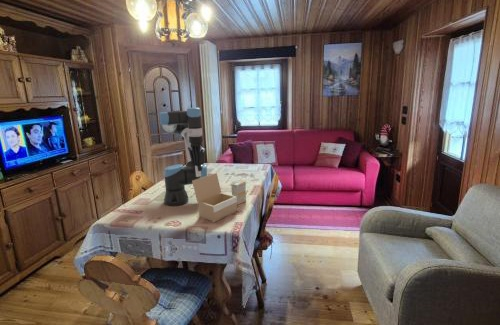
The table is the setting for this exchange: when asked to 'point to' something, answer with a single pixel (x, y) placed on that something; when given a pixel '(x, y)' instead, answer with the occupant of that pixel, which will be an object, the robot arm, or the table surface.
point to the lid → (206, 187)
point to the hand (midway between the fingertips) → (198, 176)
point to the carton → (217, 207)
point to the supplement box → (239, 191)
